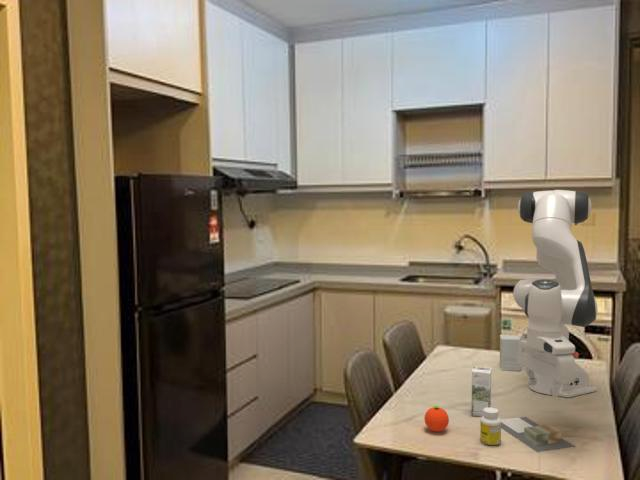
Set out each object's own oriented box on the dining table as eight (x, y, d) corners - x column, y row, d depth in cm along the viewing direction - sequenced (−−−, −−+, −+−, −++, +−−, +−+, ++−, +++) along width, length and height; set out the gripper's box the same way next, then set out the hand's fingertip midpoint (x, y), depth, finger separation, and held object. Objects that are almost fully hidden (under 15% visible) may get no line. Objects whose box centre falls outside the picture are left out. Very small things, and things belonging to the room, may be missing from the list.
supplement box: (518, 366, 230) (519, 335, 229) (520, 371, 223) (521, 339, 222) (499, 365, 232) (499, 334, 231) (500, 370, 225) (501, 338, 224)
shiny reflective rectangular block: (548, 434, 162) (548, 424, 161) (560, 442, 157) (560, 431, 157) (524, 438, 160) (524, 427, 159) (535, 445, 155) (535, 434, 155)
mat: (525, 418, 175) (525, 416, 175) (575, 448, 154) (575, 446, 154) (490, 423, 172) (490, 420, 172) (537, 454, 151) (537, 451, 151)
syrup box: (491, 412, 181) (491, 366, 180) (490, 418, 175) (490, 372, 174) (472, 410, 183) (472, 365, 182) (470, 416, 177) (471, 370, 176)
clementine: (422, 424, 171) (422, 401, 171) (445, 424, 171) (445, 401, 171) (426, 435, 163) (426, 411, 163) (450, 435, 163) (451, 411, 163)
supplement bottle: (477, 441, 159) (477, 406, 159) (496, 440, 160) (496, 405, 159) (484, 449, 154) (484, 413, 153) (504, 448, 154) (504, 413, 154)
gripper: (511, 332, 165) (510, 379, 166) (559, 350, 146) (557, 403, 147) (530, 331, 167) (529, 377, 168) (579, 348, 147) (578, 401, 148)
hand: (543, 389), depth 157 cm, fingers open, 8 cm apart
